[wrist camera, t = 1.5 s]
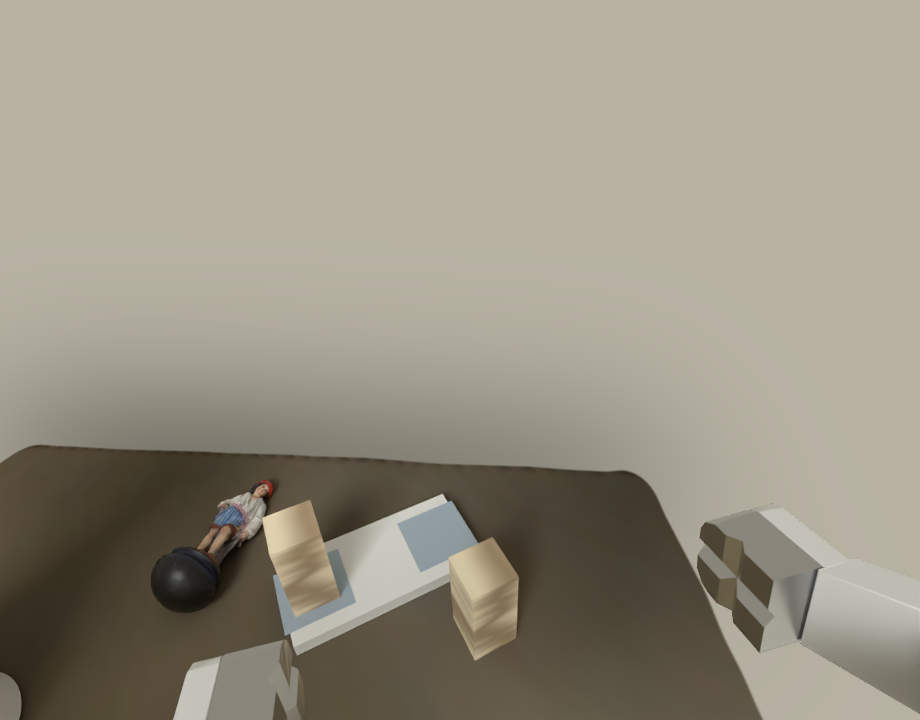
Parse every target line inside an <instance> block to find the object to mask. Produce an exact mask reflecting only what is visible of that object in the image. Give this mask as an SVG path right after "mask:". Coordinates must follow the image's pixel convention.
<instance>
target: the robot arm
mask: <svg viewBox="0 0 920 720" xmlns="http://www.w3.org/2000/svg"><path fill="white" fill-rule="evenodd" d="M700 539H701V540H702V541H704V543H705V546H704V547H703V548H702V550H701V551H700V553H699V554H698V562H697V569H698V572H699V575H700V578H701V581H702V583H703V585H704V587H705V588H706V590H707V592H708V593H709V594H710V595H711V597H712V598H713V599H714V600H715V601H716V603H718V604H720V605H722V606H724V607H726V608H728V609H730V610H732V616H733V623H734V624H735V625H736V626H737V627H738V628H739V630H740V631H741V632H742V633H743V634H744V635H745V637H746V638H747V639H748V640H749V641H750V642H751V643H752V645H753V646H754V647H755V648H756V649H757V651H758V652H759V653H761V652H765V651H768V650H771V649H775V648H778V647H782V646H785V645H788V644H792V643H795V642H799V641H801V643H800V644H802V645H803V646H805V647H807V648H808V649H810V650H812V651H814V652H815V653H817V654H819V655H820V656H822V657H824V658H826V659H827V660H829V661H831V662H832V663H834V664H836V665H838V666H839V667H841V668H843V669H844V670H846V671H848V672H850V673H851V674H853V675H854V676H856V677H858V678H860V679H861V680H863V681H865V682H867V683H868V684H870V685H872V686H873V687H875V688H877V689H879V690H880V691H882V692H883V693H885V694H887V695H889V696H890V697H892V698H894V699H895V700H897V701H899V702H901V703H902V704H904V705H906V706H907V707H909V708H911V709H912V710H914V711H916V712H918V713H919V714H920V581H918V580H915V579H913V578H910V577H907V576H904V575H901V574H899V573H895V572H893V571H890V570H887V569H885V568H882V567H879V566H876V565H873V564H870V563H868V562H865V561H862V560H860V559H857V558H855V559H851V560H848V559H847V558H846V557H844V556H843V555H842V554H841V553H839V552H838V551H837V550H835V549H834V548H833V547H832V546H830V545H829V544H828V543H826V542H825V541H824V540H823V539H821V538H820V537H819V536H818V535H816V534H815V533H814V532H812V531H811V530H810V529H809V528H807V527H806V526H805V525H804V524H802V523H801V522H800V521H798V520H797V519H796V518H795V517H793V516H792V515H791V514H790V513H788V512H787V511H786V510H784V509H783V508H782V507H780V506H778V505H775V504H769V505H765V506H762V507H758V508H754V509H751V510H749V511H742V512H739V513H736V514H732V515H729V516H725V517H722V518H719V519H715V520H712V521H708V522H705V523H704V525H703V526H702V527H701V532H700ZM291 664H292V650H291V648H290V646H289V643H288V641H287V640H281V641H277V642H273V643H269V644H265V645H261V646H257V647H253V648H249V649H245V650H241V651H237V652H233V653H229V654H225V655H222V656H218V657H214V658H210V659H207V660H203V661H199V662H195V663H193V664H192V666H191V667H190V669H189V671H188V672H187V674H186V677H185V681H184V684H183V688H182V691H181V695H180V698H179V702H178V705H177V708H176V712H175V715H174V719H173V720H306V705H305V692H304V687H303V682H302V678H301V675H300V672H299V669H296V668H294V667H292V666H291ZM20 713H21V694H20V690H19V688H18V686H17V684H16V683H15V681H14V680H13V679H12V678H11V677H9V676H8V675H6V674H4V673H1V672H0V720H19V718H20Z"/></svg>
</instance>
